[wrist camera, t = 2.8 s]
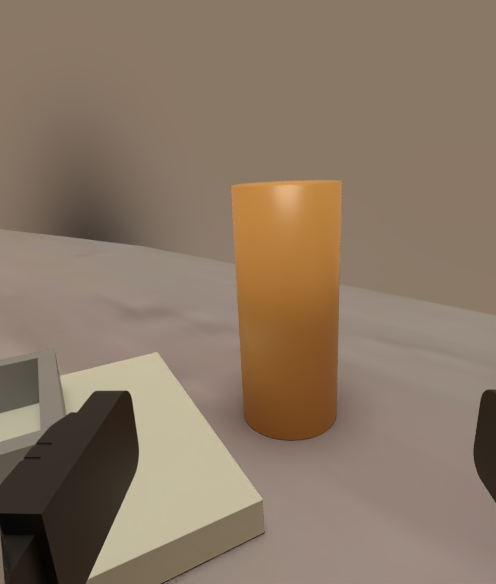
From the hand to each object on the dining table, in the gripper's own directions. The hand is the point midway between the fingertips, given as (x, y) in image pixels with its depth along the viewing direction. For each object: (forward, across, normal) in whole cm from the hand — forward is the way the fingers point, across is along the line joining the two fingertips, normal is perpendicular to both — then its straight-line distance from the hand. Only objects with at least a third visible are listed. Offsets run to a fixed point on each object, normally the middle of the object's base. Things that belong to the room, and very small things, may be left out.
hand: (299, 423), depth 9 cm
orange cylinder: (+11, 0, +7) cm, 13 cm away
